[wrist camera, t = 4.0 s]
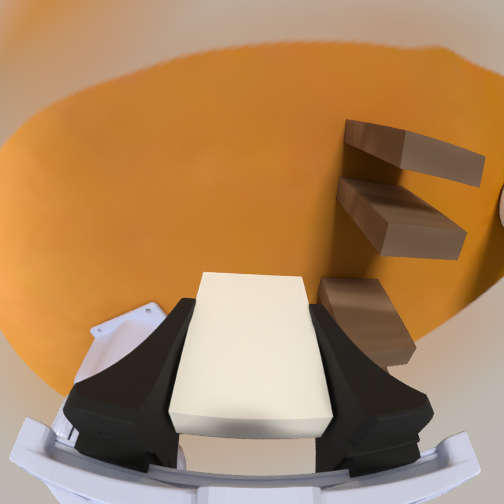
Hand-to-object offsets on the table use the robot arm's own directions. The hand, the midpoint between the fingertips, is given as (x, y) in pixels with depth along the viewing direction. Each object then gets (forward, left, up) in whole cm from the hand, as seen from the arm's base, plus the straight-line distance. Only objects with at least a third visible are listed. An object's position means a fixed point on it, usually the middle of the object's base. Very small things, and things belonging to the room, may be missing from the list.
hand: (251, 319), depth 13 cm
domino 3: (+9, -1, -9) cm, 13 cm away
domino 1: (0, 0, -2) cm, 2 cm away
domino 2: (+11, +3, -9) cm, 14 cm away
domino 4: (+5, -7, -9) cm, 13 cm away
